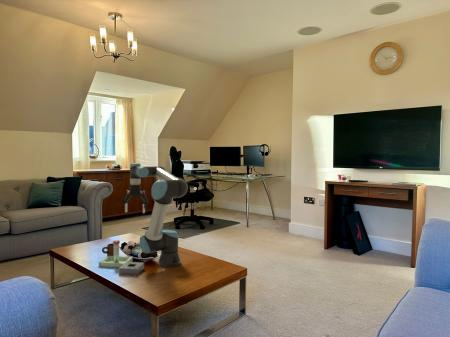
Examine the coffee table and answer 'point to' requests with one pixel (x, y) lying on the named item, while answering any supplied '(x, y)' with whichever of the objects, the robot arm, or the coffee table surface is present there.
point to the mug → (109, 250)
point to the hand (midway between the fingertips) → (135, 212)
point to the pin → (116, 251)
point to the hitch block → (131, 268)
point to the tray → (110, 262)
